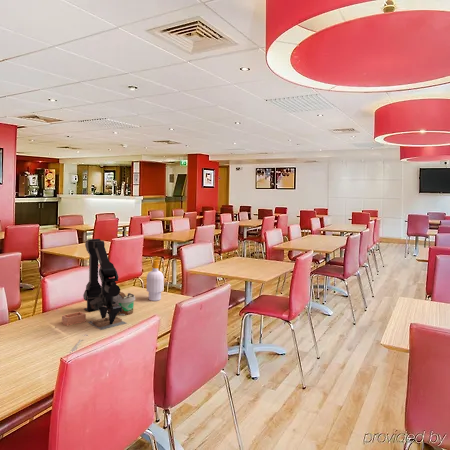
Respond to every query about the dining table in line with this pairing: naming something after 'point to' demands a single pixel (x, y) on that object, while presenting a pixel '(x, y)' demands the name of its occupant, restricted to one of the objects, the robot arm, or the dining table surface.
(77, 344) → the spoon
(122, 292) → the tin
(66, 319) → the dish
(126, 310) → the food container
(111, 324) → the mat
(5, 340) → the dining table surface
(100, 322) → the lid
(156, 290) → the soap bottle
